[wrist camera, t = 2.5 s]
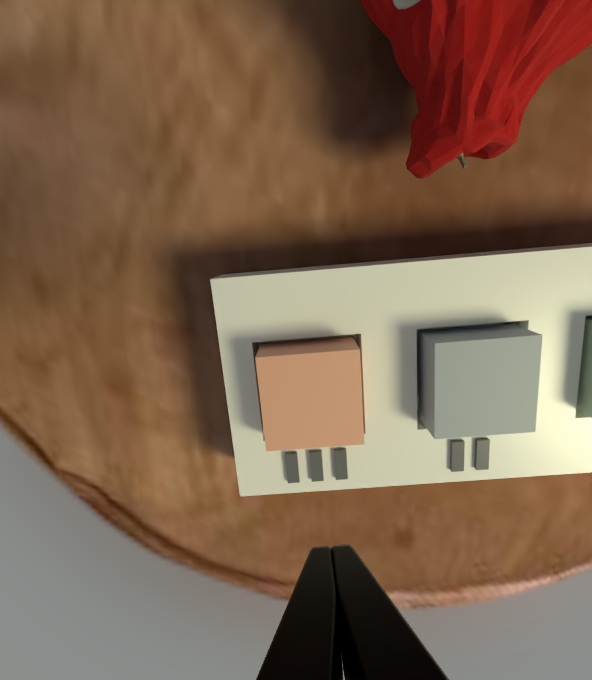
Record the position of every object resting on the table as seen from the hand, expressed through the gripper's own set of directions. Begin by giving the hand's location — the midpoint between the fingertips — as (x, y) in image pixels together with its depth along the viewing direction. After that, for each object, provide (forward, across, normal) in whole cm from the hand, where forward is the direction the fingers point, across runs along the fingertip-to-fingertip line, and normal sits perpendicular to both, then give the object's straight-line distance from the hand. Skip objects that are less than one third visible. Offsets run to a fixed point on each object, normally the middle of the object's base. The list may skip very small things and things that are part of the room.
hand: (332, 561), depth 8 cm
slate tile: (+11, -7, 0) cm, 13 cm away
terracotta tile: (+11, 0, 0) cm, 11 cm away
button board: (+13, -7, 0) cm, 15 cm away
